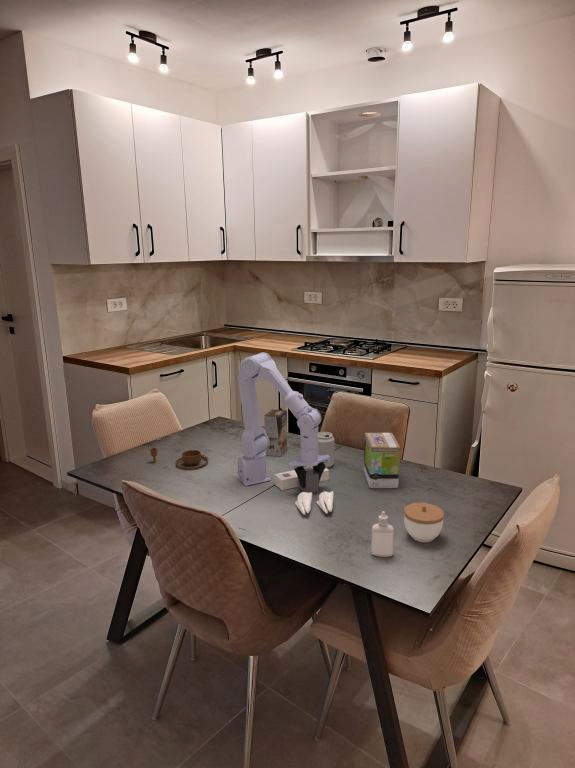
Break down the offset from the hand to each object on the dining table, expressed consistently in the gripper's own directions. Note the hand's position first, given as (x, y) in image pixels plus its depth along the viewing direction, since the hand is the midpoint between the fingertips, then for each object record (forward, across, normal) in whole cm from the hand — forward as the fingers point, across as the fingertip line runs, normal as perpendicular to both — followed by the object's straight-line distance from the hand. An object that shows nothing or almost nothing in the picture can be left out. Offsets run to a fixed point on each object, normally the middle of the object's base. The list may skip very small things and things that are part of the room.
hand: (309, 485), depth 182 cm
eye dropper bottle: (+2, -1, -42) cm, 42 cm away
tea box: (+2, +26, -3) cm, 26 cm away
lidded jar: (+2, +14, -40) cm, 43 cm away
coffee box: (+2, +5, +37) cm, 37 cm away
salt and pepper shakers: (+2, -5, -12) cm, 14 cm away
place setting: (+3, -30, +44) cm, 53 cm away
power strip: (+2, +1, +7) cm, 8 cm away
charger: (+2, 0, +2) cm, 3 cm away
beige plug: (-2, +6, +7) cm, 9 cm away
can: (+2, +15, +17) cm, 23 cm away
